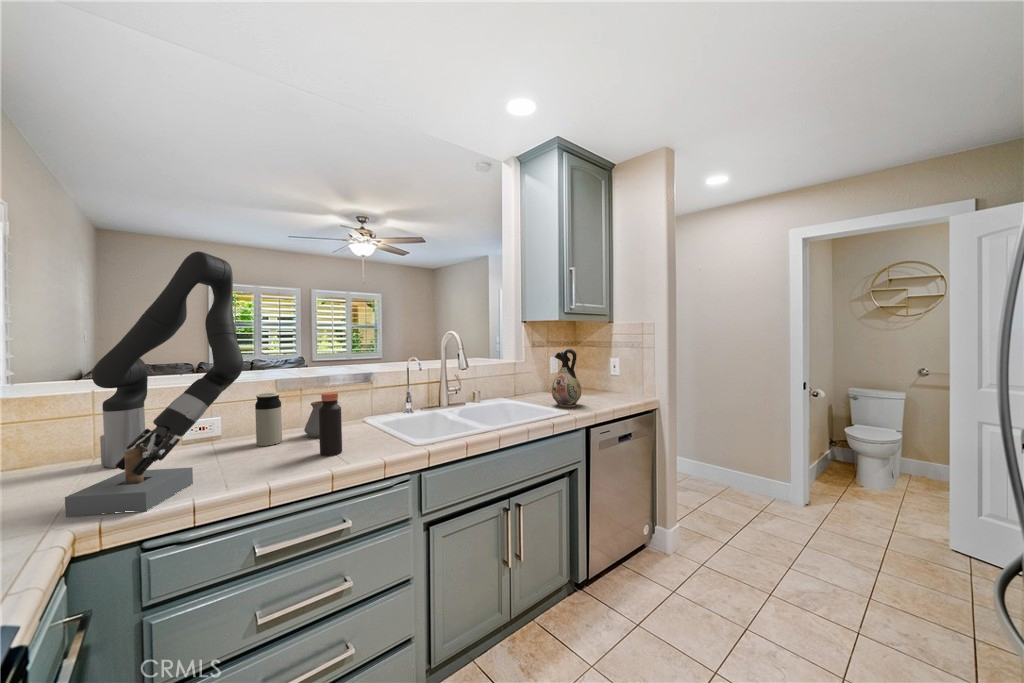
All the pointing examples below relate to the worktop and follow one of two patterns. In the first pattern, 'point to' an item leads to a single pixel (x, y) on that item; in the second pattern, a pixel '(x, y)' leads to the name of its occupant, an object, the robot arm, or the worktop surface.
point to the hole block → (128, 492)
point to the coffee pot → (314, 420)
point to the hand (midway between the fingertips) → (126, 471)
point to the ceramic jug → (566, 382)
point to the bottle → (330, 425)
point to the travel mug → (268, 419)
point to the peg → (130, 462)
